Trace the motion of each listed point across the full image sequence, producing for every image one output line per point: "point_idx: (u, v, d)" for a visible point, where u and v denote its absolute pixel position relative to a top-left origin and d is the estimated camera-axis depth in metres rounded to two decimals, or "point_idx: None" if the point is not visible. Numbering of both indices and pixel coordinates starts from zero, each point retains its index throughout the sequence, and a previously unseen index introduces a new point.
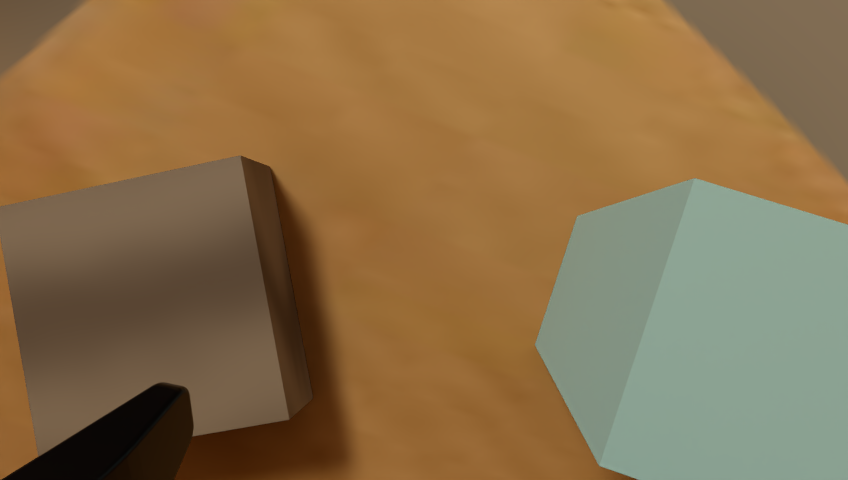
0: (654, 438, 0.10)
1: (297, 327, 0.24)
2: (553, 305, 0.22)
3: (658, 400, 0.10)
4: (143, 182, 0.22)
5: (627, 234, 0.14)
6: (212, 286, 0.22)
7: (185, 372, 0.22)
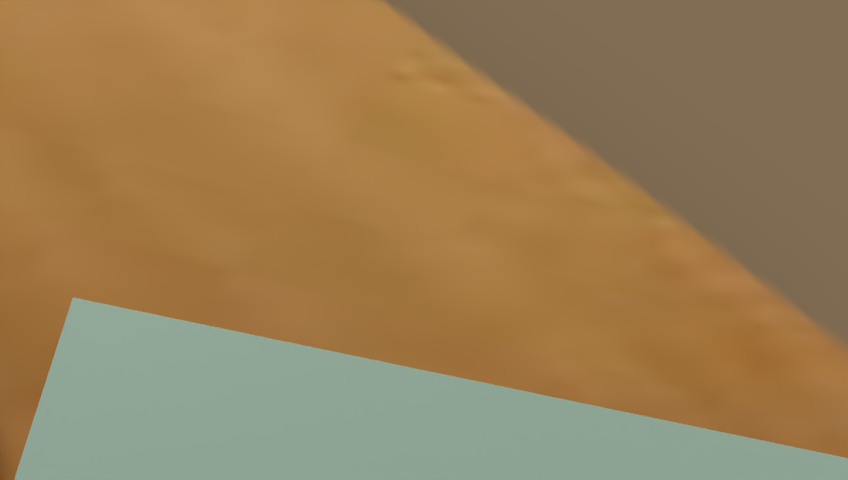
0: None
1: None
2: None
3: None
4: None
5: None
6: None
7: None
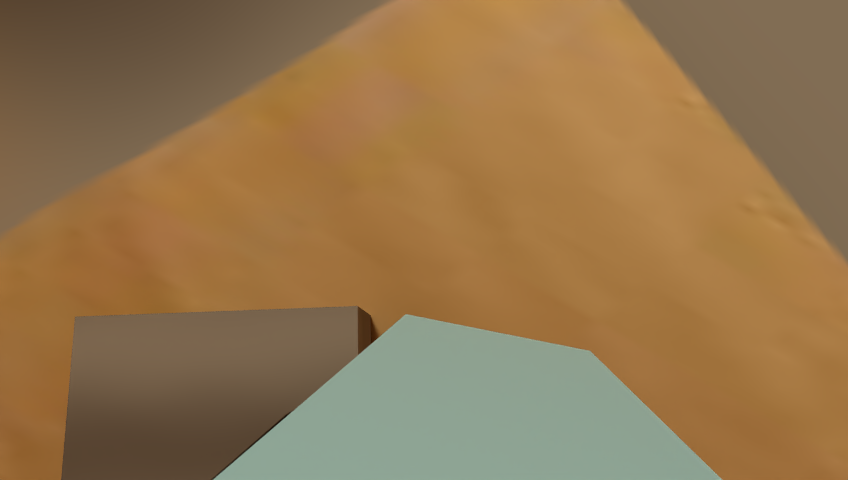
0: None
1: None
2: None
3: None
4: (245, 317, 0.20)
5: None
6: None
7: None
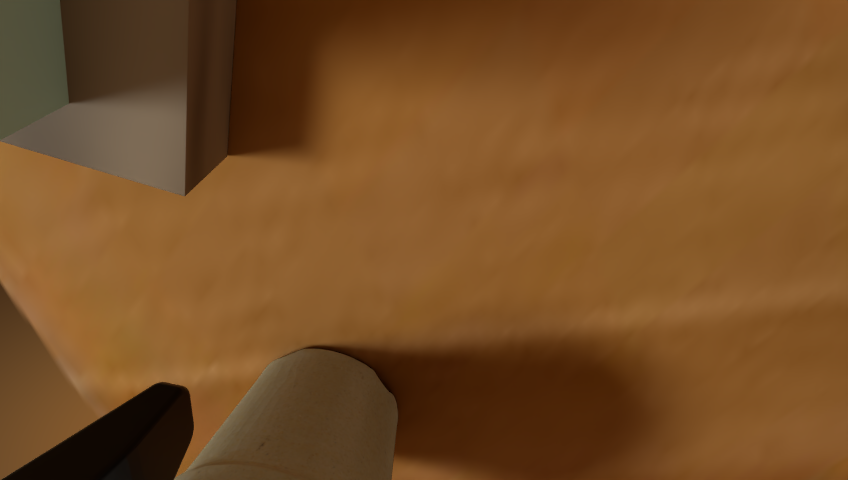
0: None
1: None
2: None
3: None
4: None
5: None
6: None
7: None
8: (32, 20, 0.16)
